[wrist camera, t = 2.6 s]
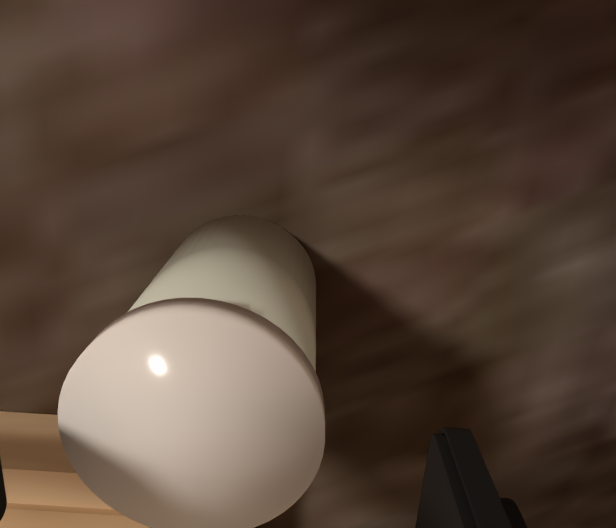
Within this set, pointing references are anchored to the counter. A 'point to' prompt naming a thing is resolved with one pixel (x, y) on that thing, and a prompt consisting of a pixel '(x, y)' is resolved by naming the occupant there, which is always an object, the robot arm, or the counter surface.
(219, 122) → the counter surface
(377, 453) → the counter surface
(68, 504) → the base
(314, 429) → the canister
